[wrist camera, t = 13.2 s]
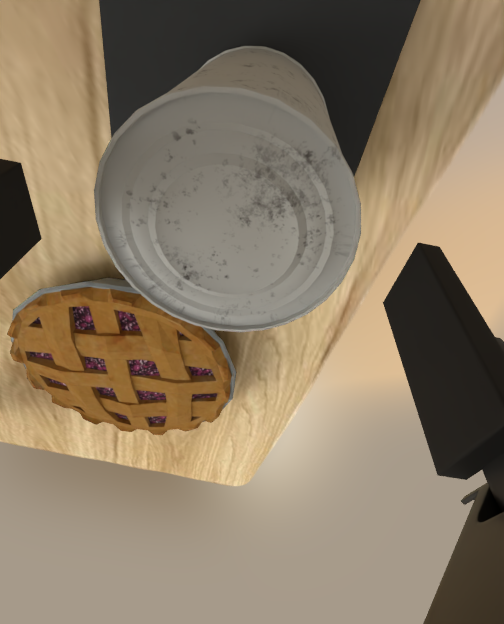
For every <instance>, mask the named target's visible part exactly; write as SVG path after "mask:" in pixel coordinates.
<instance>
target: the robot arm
mask: <svg viewBox="0 0 504 624" xmlns="http://www.w3.org/2000/svg"><path fill="white" fill-rule="evenodd" d="M40 240H41V235H40V231H39V228H38V224H37V220H36V217H35V213H34V209H33V206H32V202H31V198H30V195H29V191H28V187H27V184H26V180H25V176H24V173H23V169H22V165H21V163H18V162H13V161H8V160H3V159H0V279H1V278H2V277H3V276H4V275H5V274H6V273H7V272H8V271H9V270H10V269H11V268H12V267H13V266H14V265H15V264H16V263H17V262H18V261H19V260H20V259H21V258H22V257H23V256H24V255H25V254H26V253H27V252H28V251H29V250H30V249H31V248H32V247H33V246H35V245H36V244H37V243H38V242H39V241H40ZM383 304H384V307H385V310H386V313H387V317H388V319H389V323H390V326H391V329H392V332H393V335H394V339H395V342H396V345H397V348H398V351H399V354H400V357H401V361H402V364H403V367H404V370H405V373H406V377H407V380H408V383H409V386H410V389H411V392H412V396H413V399H414V402H415V405H416V408H417V411H418V415H419V418H420V421H421V424H422V427H423V430H424V434H425V437H426V440H427V443H428V446H429V449H430V452H431V456H432V459H433V462H434V465H435V468H436V471H437V474H438V475H439V476H446V477H452V478H459V479H465V480H467V479H468V478H470V477H471V476H473V475H474V474H476V473H477V472H479V471H480V470H483V472H484V475H485V477H486V480H487V482H488V483H486V484H484V485H483V486H481V487H479V488H478V489H476V490H475V491H473V492H471V493H470V494H468V495H466V496H465V497H464V498H463V499H462V500H461V502H462V503H463V504H467V503H469V502H470V501H472V500H475V501H474V503H473V506H472V508H471V510H470V513H469V515H468V518H467V520H466V522H465V525H464V527H463V530H462V532H461V535H460V537H459V539H458V542H457V544H456V546H455V549H454V551H453V554H452V556H451V559H450V561H449V564H448V566H447V568H446V571H445V573H444V576H443V578H442V580H441V583H440V585H439V587H438V590H437V593H436V595H435V597H434V599H433V602H432V604H431V607H430V609H429V611H428V614H427V617H426V619H425V621H424V624H504V342H503V340H502V339H500V338H496V337H494V335H493V333H492V332H491V330H490V329H489V327H488V326H487V324H486V322H485V320H484V319H483V317H482V316H481V314H480V312H479V311H478V309H477V307H476V306H475V304H474V302H473V301H472V299H471V297H470V296H469V294H468V293H467V291H466V289H465V288H464V286H463V285H462V283H461V281H460V280H459V278H458V276H457V275H456V273H455V271H454V270H453V268H452V266H451V265H450V263H449V262H448V260H447V258H446V257H445V255H444V253H443V252H442V250H441V249H440V247H438V246H432V245H427V244H422V243H418V244H417V245H416V247H415V249H414V250H413V252H412V254H411V256H410V257H409V259H408V261H407V262H406V264H405V266H404V268H403V269H402V271H401V273H400V274H399V276H398V278H397V280H396V281H395V283H394V285H393V286H392V288H391V290H390V292H389V294H388V295H387V297H386V299H385V301H384V302H383Z"/></svg>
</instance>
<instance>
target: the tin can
mask: <svg viewBox="0 0 504 624" xmlns="http://www.w3.org/2000/svg"><path fill="white" fill-rule="evenodd" d="M94 196H95V213H96V221H97V224H98V228H99V231H100V234H101V238H102V241H103V244H104V246H105V248H106V250H107V252H108V254H109V255H110V257H111V259H112V261H113V263H114V264H115V266H116V268H117V269H118V270H119V272H120V273H121V274H122V275H123V276H124V278H125V279H126V280H127V281H128V283H129V284H130V285H131V286H132V287H133V288H134V289H135V290H136V291H137V292H139V293H140V294H141V295H142V296H143V297H144V298H146V299H147V300H148V301H149V302H150V303H151V304H153V305H155V306H156V307H158V308H160V309H161V310H163V311H165V312H166V313H168V314H170V315H171V316H173V317H176V318H178V319H181V320H183V321H186V322H188V323H190V324H193V325H196V326H200V327H205V328H209V329H213V330H218V331H231V332H248V331H259V330H266V329H270V328H273V327H277V326H281V325H285V324H287V323H290V322H292V321H294V320H296V319H298V318H300V317H302V316H304V315H306V314H308V313H309V312H311V311H312V310H313V309H315V308H316V307H317V306H319V305H320V304H322V303H323V302H324V301H326V300H327V298H328V297H329V296H330V295H331V294H332V293H333V292H334V290H335V289H336V288H337V287H338V286H339V285H340V284H341V283H342V281H343V279H344V277H345V275H346V273H347V272H348V270H349V268H350V266H351V264H352V262H353V260H354V258H355V254H356V250H357V246H358V242H359V239H360V235H361V203H360V199H359V195H358V192H357V188H356V184H355V180H354V176H353V173H352V171H351V169H350V167H349V166H348V164H347V162H346V160H345V158H344V157H343V155H342V152H341V149H340V146H339V144H338V141H337V138H336V135H335V132H334V130H333V127H332V124H331V121H330V119H329V115H328V111H327V107H326V104H325V100H324V97H323V95H322V93H321V91H320V89H319V87H318V86H317V84H316V82H315V80H314V78H313V77H312V76H311V75H310V74H309V73H308V72H307V71H306V70H305V68H304V67H303V66H302V65H301V64H300V63H298V62H297V61H295V60H294V59H292V58H291V57H289V56H288V55H286V54H285V53H283V52H280V51H277V50H274V49H271V48H268V47H265V46H241V47H237V48H233V49H230V50H226V51H224V52H222V53H220V54H219V55H217V56H215V57H213V58H212V59H210V60H208V61H207V62H206V63H205V64H204V65H203V66H202V67H201V68H200V69H199V70H198V71H197V72H195V73H194V74H192V75H191V76H190V77H188V78H187V79H186V80H184V81H183V82H181V83H180V84H179V85H177V86H176V87H175V88H173V89H172V90H170V91H169V92H168V93H166V94H164V95H162V96H161V97H159V98H157V99H155V100H154V101H152V102H150V103H148V104H147V105H145V106H143V107H141V108H139V109H138V110H136V111H135V112H134V113H133V114H132V116H131V117H130V118H129V119H128V120H127V121H126V122H125V123H124V124H123V125H122V126H121V127H120V128H119V129H118V130H117V131H116V132H115V133H114V135H113V137H112V139H111V140H110V142H109V144H108V146H107V148H106V150H105V152H104V154H103V156H102V158H101V160H100V163H99V168H98V173H97V178H96V183H95V188H94Z"/></svg>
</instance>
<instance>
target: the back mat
mask: <svg viewBox="0 0 504 624" xmlns="http://www.w3.org/2000/svg"><path fill="white" fill-rule="evenodd" d="M99 3H100V14H101V25H102V36H103V47H104V59H105V70H106V81H107V92H108V103H109V114H110V125H111V137H113V135H114V133H115V132H116V131H117V130H118V129H119V128H120V127H121V126H122V125H123V124H124V123H125V122H126V121H127V120H128V119H129V118H130V117H131V116H132V114H133V113H134V112H135V111H136V110H138V109H139V108H141V107H143V106H145V105H147V104H148V103H150V102H152V101H154V100H155V99H157V98H159V97H161V96H162V95H164V94H166V93H168V92H169V91H170V90H172V89H173V88H175V87H176V86H177V85H179V84H180V83H181V82H183V81H184V80H186V79H187V78H188V77H190V76H191V75H192V74H194V73H195V72H197V71H198V70H199V69H200V68H201V67H202V66H203V65H204V64H205V63H206V62H207V61H208V60H210V59H212V58H213V57H215V56H217V55H219V54H220V53H222V52H224V51H226V50H230V49H233V48H237V47H241V46H265V47H268V48H271V49H274V50H277V51H280V52H283V53H285V54H286V55H288V56H289V57H291V58H292V59H294V60H295V61H297V62H298V63H300V64H301V65H302V66H303V67H304V68H305V70H306V71H307V72H308V73H309V74H310V75H311V76H312V77H313V78H314V80H315V82H316V84H317V86H318V87H319V89H320V91H321V93H322V95H323V97H324V100H325V104H326V107H327V111H328V115H329V119H330V121H331V124H332V127H333V130H334V132H335V135H336V138H337V141H338V144H339V146H340V149H341V152H342V155H343V157H344V158H345V160H346V162H347V164H348V166H349V167H350V169H351V171H352V173H353V176H355V173H356V170H357V168H358V165H359V162H360V160H361V157H362V154H363V152H364V149H365V146H366V144H367V141H368V138H369V136H370V133H371V130H372V128H373V125H374V122H375V120H376V117H377V114H378V112H379V109H380V106H381V104H382V101H383V98H384V96H385V93H386V90H387V88H388V85H389V82H390V80H391V77H392V75H393V72H394V69H395V67H396V64H397V61H398V59H399V56H400V53H401V51H402V48H403V45H404V43H405V40H406V37H407V35H408V32H409V29H410V27H411V24H412V21H413V19H414V16H415V13H416V11H417V8H418V5H419V3H420V0H99Z"/></svg>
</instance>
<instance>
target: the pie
mask: <svg viewBox="0 0 504 624" xmlns="http://www.w3.org/2000/svg"><path fill="white" fill-rule="evenodd" d="M7 335H9V336H10V337H11V341H12V347H11V350H10V354H11V356H12V358H13V360H15V361H17V362H20V363H23V364H24V366H25V368H26V371H27V379H28V380H29V382H30V383H31V384H32V386H33V387H34V388H36V389H43V390H46V391H47V392H48V393H50V394H51V395H52V402H53V403H55V404H57V405H59V406H62V407H64V408H71V409H74V410H75V411H77V412H79V413H80V414H81V416H82V417H83V419H85V420H87V421H89V422H92V423H94V424H99V423H101V422H106V423H110V424H114V425H115V426H116V427H117V428H119V429H120V431H128V432H132V431H134V430H136V429H142V430H148V431H150V432H151V433H152V434H153V435H163V434H164V433H165V432H166V431H167V430H170V429H180V430H183V431H189V430H192V429H196V428H198V427H199V425H200V424H201V422H204V421H207V422H210V423H211V422H213V421H214V420H215V419H216V418H217V417H219V415H220V413H221V411H222V410H223V408H224V407H225V406H226V405H227V404H228V403H229V402H230V401H231V400H232V399H233V393H234V385H235V377H236V371H235V368H234V366H233V363H232V361H231V359H230V356H229V354H228V351H227V349H226V347H225V344H224V342H223V341H222V340H221V339H220V338H219V337H218V336H217V335H216V333H215V331H214V330H213V329H209V328H205V327H200V326H196V325H193V324H190V323H188V322H186V321H183V320H181V319H178V318H176V317H173V316H171V315H170V314H168V313H166V312H165V311H163V310H161V309H160V308H158V307H156V306H155V305H153V304H151V303H150V302H149V301H148V300H147V299H146V298H144V297H143V296H142V295H141V294H140V293H139V292H137V291H136V290H135V289H134V288H133V287H132V286H131V285H130V284H129V283H128V281H127V280H122V279H115V278H104V279H98V280H92V281H86V282H80V283H74V284H68V285H62V286H56V287H50V288H44V289H40V290H38V291H37V292H36V293H34V294H33V295H32V296H31V297H29V298H28V299H27V300H25V301H24V302H23V303H21V304H20V305H19V306H18V307H16V308H15V309H14V310H13V320H12V323H11V326H10V328H9V331H8V333H7Z"/></svg>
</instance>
